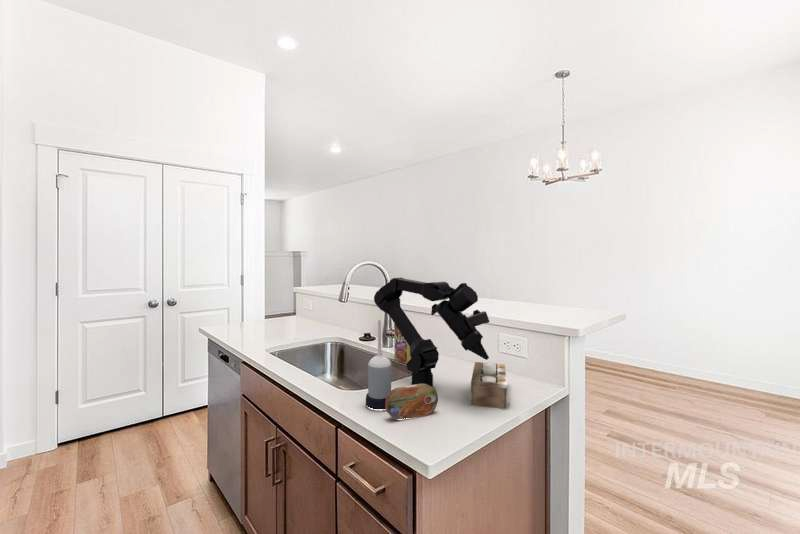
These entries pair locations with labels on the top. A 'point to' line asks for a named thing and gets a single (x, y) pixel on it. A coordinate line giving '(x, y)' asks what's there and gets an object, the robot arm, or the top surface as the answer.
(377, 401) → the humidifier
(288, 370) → the top surface
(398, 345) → the candy box
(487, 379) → the button
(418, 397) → the tin
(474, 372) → the brown compartment box
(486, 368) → the middle button
